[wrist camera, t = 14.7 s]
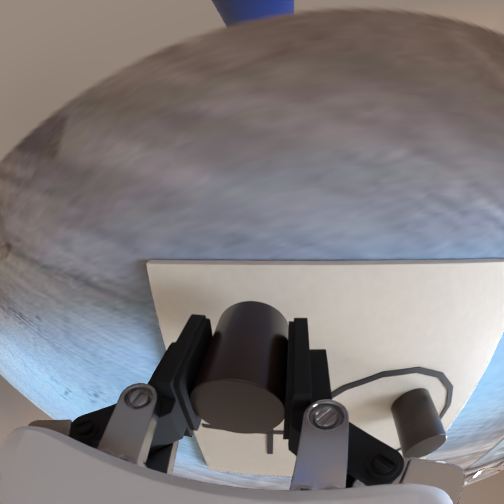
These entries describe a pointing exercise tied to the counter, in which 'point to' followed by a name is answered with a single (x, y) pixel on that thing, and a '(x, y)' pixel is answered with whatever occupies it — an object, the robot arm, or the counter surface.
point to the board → (349, 335)
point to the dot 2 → (417, 423)
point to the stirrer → (502, 468)
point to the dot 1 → (244, 370)
